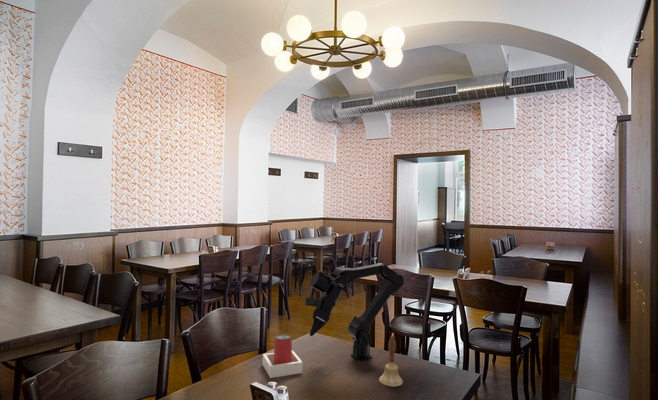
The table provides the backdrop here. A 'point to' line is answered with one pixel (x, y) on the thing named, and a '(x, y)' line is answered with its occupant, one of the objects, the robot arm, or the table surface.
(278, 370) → the box
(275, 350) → the beer can
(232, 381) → the table surface
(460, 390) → the table surface
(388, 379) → the hand bell
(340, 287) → the robot arm
